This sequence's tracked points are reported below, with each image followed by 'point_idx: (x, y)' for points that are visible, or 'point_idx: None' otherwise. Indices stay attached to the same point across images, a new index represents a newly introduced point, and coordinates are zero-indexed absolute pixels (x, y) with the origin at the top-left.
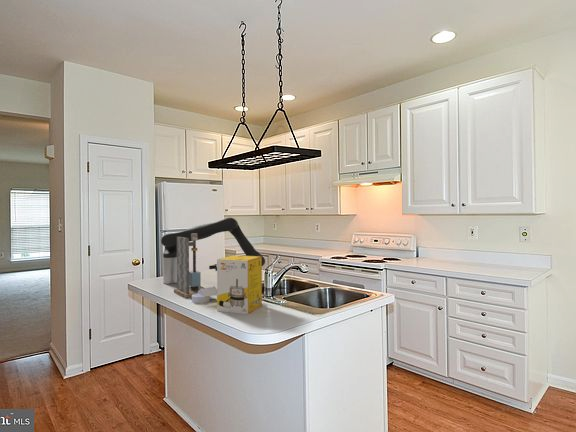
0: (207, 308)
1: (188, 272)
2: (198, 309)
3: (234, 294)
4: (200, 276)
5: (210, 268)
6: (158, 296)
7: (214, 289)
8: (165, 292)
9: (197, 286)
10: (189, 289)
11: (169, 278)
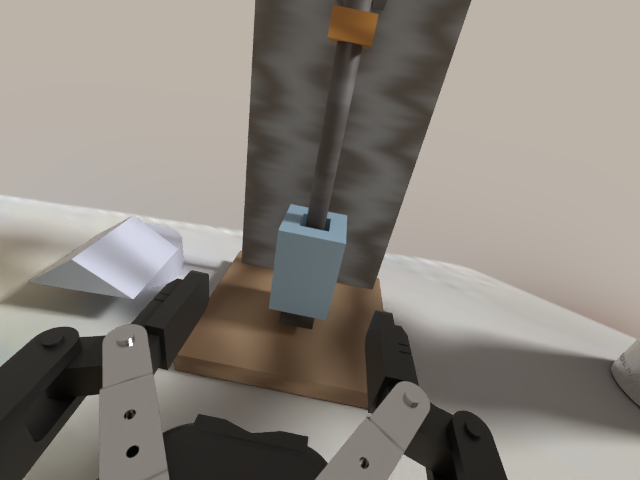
0: (36, 227)
1: (247, 163)
2: (72, 215)
3: None
4: (275, 258)
5: (368, 339)
6: None
7: (65, 261)
8: (398, 279)
9: None
10: None
11: (634, 353)
